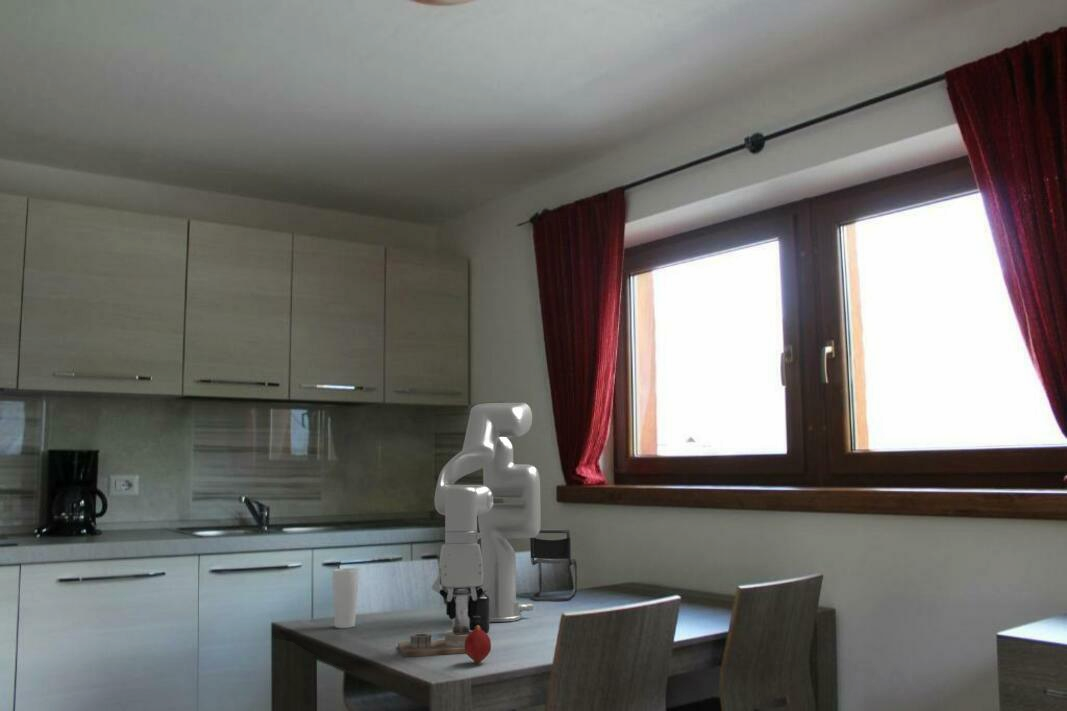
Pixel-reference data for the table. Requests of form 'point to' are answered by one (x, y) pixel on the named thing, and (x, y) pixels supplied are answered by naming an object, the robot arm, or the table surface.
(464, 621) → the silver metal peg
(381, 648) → the table surface
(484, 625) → the supplement bottle
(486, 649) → the onion
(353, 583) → the drinking glass
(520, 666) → the table surface
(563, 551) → the chair
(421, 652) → the fitting board
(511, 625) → the table surface
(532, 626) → the table surface
